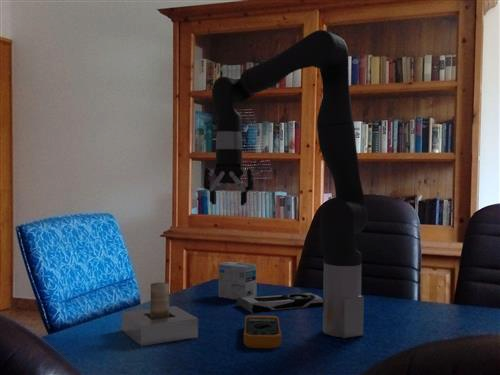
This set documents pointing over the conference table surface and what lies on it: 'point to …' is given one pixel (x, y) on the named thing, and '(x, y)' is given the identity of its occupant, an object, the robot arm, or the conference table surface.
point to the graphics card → (279, 302)
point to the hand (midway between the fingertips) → (228, 204)
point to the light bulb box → (237, 280)
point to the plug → (159, 301)
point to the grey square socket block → (159, 326)
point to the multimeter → (262, 332)
